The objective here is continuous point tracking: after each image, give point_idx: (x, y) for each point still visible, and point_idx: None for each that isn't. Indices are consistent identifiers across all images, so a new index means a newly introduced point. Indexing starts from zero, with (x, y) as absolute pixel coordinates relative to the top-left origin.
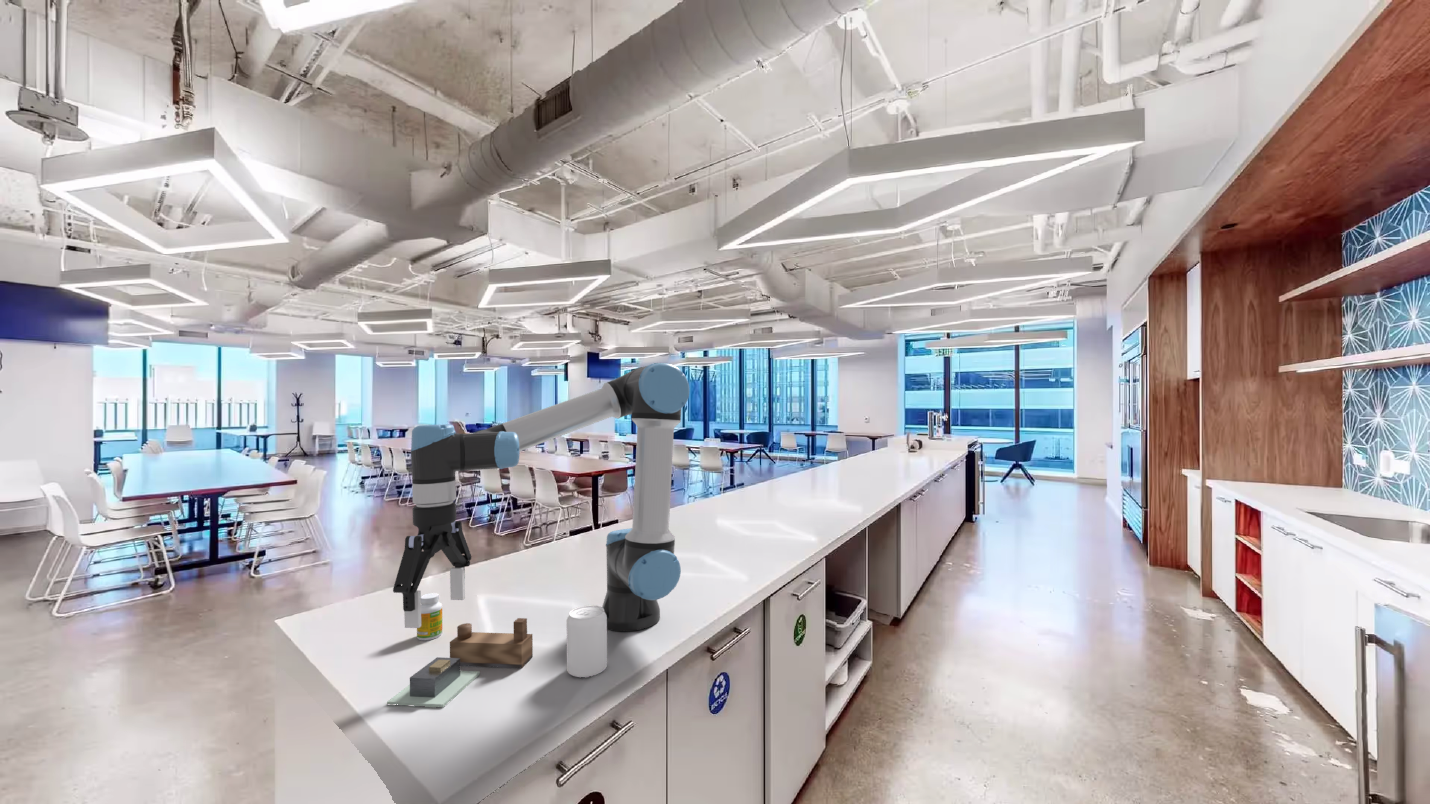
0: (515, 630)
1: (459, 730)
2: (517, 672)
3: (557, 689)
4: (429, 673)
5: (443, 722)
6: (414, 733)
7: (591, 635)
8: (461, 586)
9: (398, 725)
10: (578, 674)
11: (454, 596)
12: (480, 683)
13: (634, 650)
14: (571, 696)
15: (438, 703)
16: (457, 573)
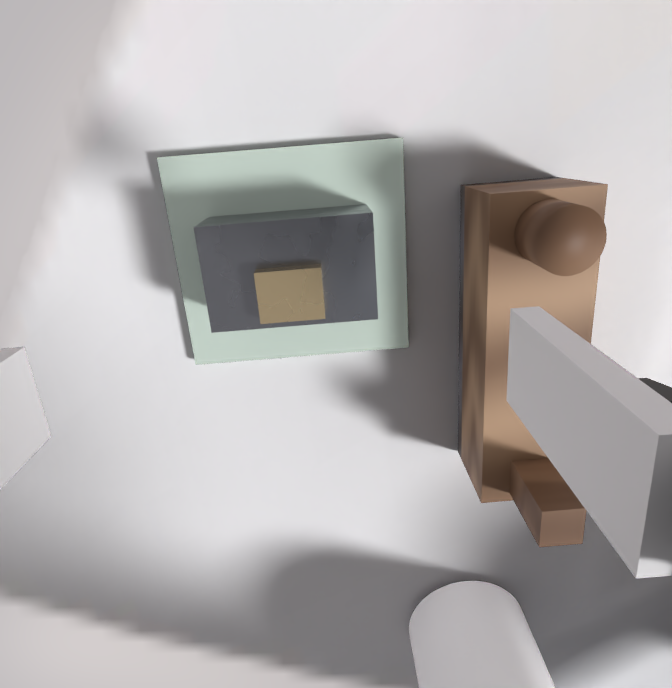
0: (525, 495)
1: (120, 471)
2: (433, 451)
3: (353, 592)
4: (241, 283)
5: (137, 409)
6: (68, 368)
7: None
8: (546, 447)
9: (82, 293)
10: (410, 630)
11: (519, 348)
12: (352, 380)
13: (582, 678)
14: (326, 633)
15: (197, 346)
16: (609, 489)
